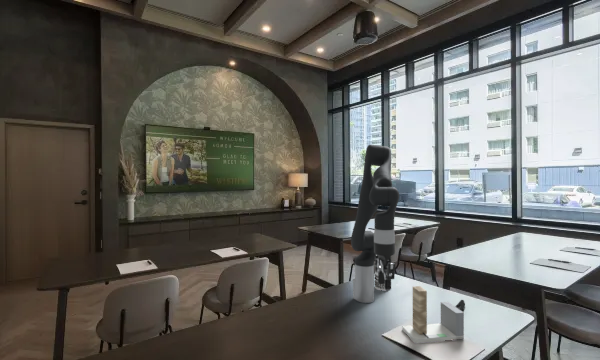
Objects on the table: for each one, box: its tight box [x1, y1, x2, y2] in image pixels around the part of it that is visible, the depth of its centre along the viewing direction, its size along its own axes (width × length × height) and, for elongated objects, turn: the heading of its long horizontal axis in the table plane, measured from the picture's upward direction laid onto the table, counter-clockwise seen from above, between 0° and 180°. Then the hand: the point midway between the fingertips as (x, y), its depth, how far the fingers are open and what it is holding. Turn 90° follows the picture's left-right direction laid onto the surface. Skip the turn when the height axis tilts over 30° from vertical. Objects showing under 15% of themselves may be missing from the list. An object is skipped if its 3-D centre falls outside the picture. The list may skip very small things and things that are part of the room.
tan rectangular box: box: [412, 285, 429, 338], centre depth 118 cm, size 3×8×16 cm, turn 7°
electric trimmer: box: [454, 299, 466, 312], centre depth 141 cm, size 4×16×3 cm, turn 142°
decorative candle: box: [374, 262, 387, 292], centre depth 170 cm, size 9×9×25 cm
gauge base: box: [401, 301, 465, 344], centre depth 121 cm, size 19×10×10 cm, turn 97°
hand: (384, 286), depth 118 cm, fingers open, 5 cm apart
